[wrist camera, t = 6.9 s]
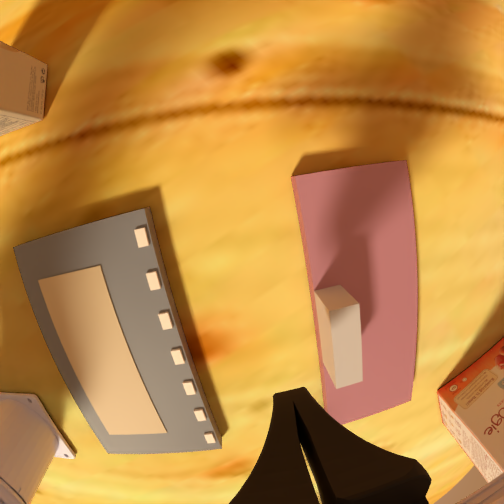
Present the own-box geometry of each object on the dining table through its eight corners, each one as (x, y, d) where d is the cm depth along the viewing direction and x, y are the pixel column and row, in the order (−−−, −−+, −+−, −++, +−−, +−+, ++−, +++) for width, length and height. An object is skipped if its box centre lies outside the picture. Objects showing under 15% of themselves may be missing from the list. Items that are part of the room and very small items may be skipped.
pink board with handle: (325, 418, 21) (339, 455, 17) (290, 176, 17) (308, 175, 13) (404, 392, 22) (427, 422, 17) (396, 160, 18) (435, 158, 13)
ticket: (111, 444, 21) (107, 454, 20) (22, 243, 17) (11, 247, 16) (221, 438, 21) (221, 450, 20) (149, 206, 17) (143, 208, 16)
